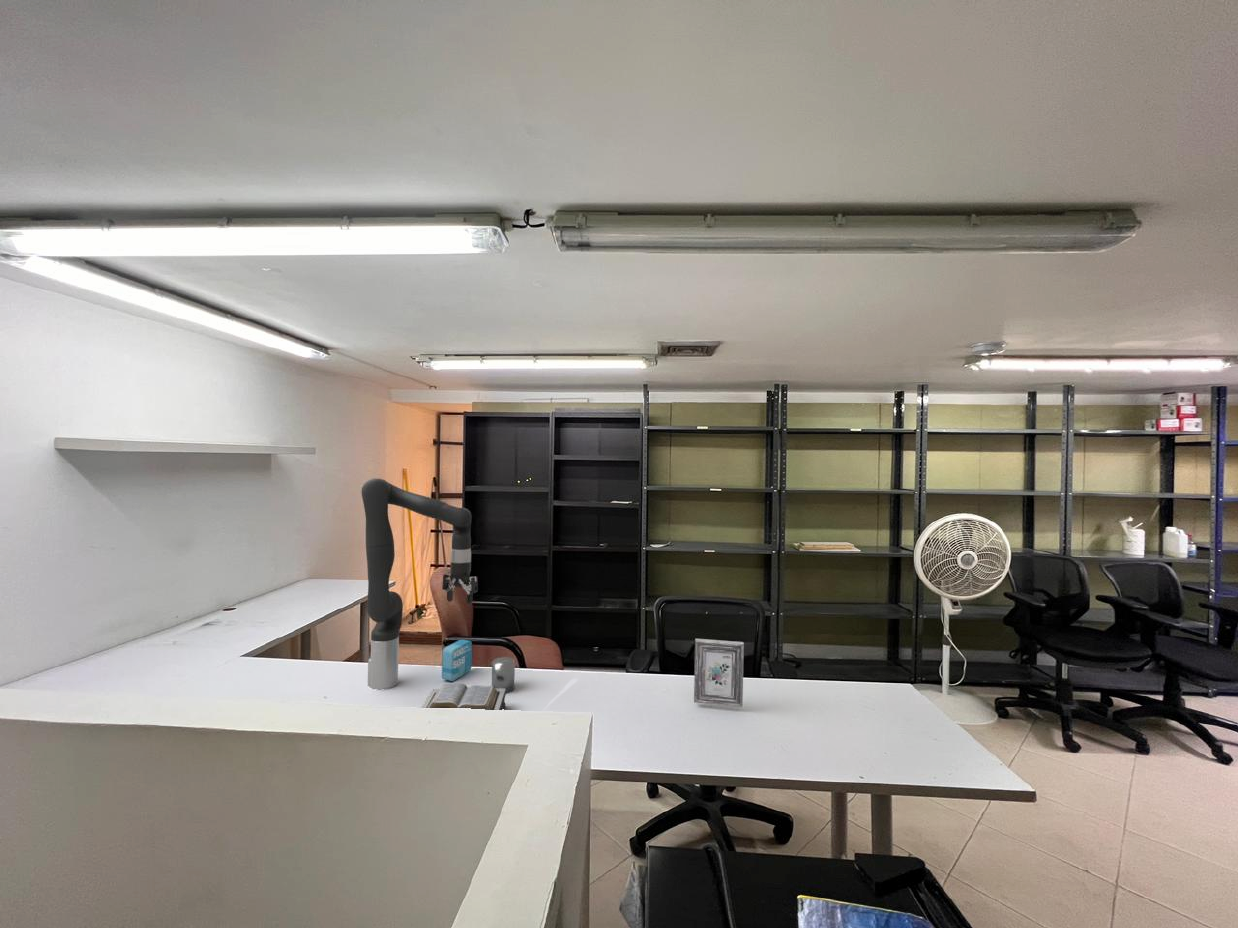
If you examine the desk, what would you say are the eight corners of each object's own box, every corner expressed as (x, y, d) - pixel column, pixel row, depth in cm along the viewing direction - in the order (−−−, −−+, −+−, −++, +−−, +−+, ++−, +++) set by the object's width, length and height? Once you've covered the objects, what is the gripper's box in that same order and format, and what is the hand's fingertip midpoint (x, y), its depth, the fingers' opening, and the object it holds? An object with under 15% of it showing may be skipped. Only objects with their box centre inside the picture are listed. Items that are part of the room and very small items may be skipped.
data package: (451, 682, 181) (452, 650, 181) (441, 680, 183) (442, 648, 183) (471, 670, 192) (472, 639, 192) (462, 668, 194) (462, 638, 194)
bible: (439, 701, 167) (440, 672, 167) (516, 707, 164) (516, 678, 164) (402, 739, 144) (402, 705, 144) (490, 747, 141) (491, 712, 141)
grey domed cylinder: (487, 691, 174) (487, 663, 174) (499, 682, 182) (499, 655, 182) (507, 695, 172) (507, 666, 172) (518, 685, 180) (518, 658, 180)
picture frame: (693, 702, 170) (695, 640, 170) (693, 699, 172) (695, 638, 172) (742, 707, 167) (744, 644, 167) (742, 704, 170) (743, 641, 170)
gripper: (438, 560, 186) (437, 602, 186) (470, 563, 182) (469, 607, 182) (451, 557, 193) (450, 598, 193) (482, 560, 189) (481, 601, 189)
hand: (459, 602), depth 187 cm, fingers open, 8 cm apart
